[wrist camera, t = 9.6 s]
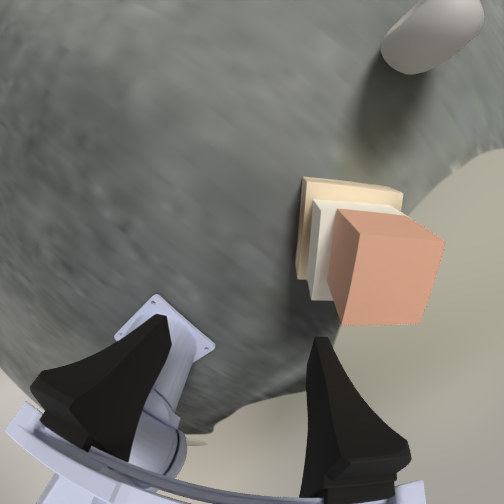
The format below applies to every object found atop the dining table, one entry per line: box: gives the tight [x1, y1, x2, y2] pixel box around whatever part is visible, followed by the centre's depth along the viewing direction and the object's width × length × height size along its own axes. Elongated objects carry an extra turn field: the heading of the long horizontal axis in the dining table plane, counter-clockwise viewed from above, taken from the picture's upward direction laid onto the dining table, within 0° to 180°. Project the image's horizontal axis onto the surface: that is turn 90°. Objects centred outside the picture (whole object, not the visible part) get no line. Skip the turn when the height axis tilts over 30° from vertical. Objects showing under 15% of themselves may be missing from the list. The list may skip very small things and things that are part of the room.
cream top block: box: [306, 199, 411, 301], centre depth 17 cm, size 6×6×3 cm
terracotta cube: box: [327, 209, 445, 325], centre depth 13 cm, size 4×4×4 cm
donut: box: [380, 0, 484, 75], centre depth 9 cm, size 10×4×10 cm, turn 143°
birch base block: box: [295, 177, 403, 280], centre depth 19 cm, size 7×7×3 cm
